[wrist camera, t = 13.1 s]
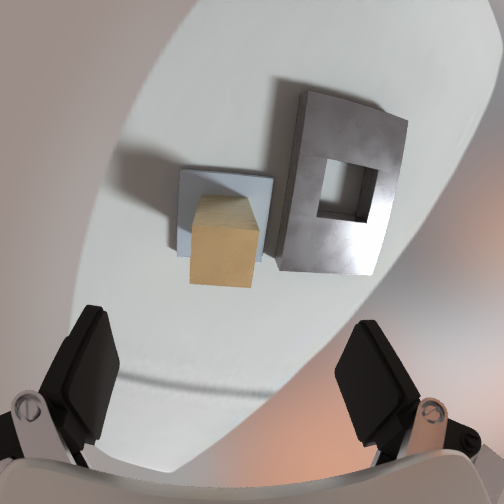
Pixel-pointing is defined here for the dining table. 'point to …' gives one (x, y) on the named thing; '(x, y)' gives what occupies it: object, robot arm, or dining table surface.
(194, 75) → the dining table surface
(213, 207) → the brass block
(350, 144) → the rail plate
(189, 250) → the mat
